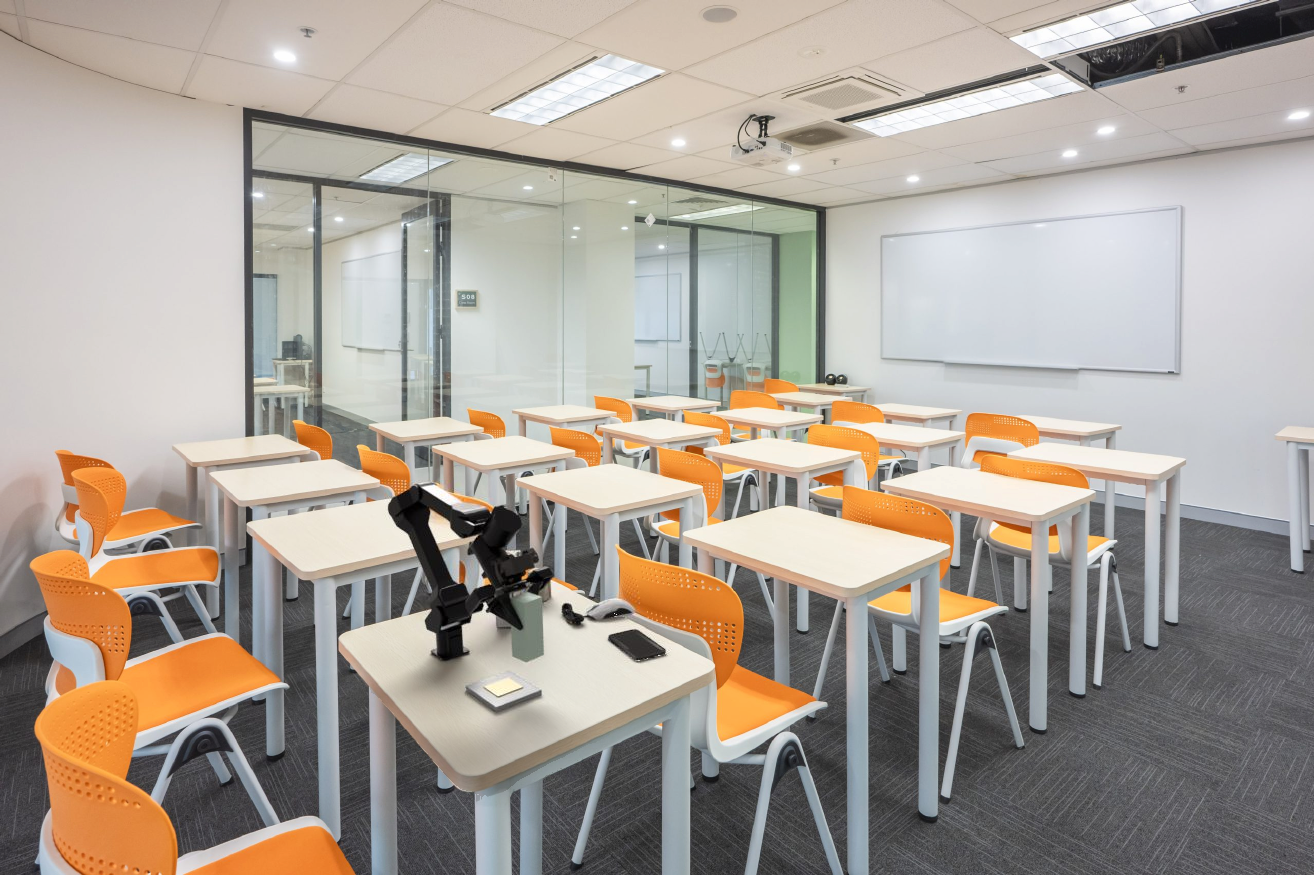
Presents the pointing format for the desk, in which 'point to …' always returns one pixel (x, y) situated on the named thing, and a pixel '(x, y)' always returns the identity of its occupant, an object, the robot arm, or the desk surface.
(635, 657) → the phone
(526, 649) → the sage block
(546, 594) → the small box
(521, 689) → the pad
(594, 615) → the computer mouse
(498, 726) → the desk surface
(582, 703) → the desk surface
